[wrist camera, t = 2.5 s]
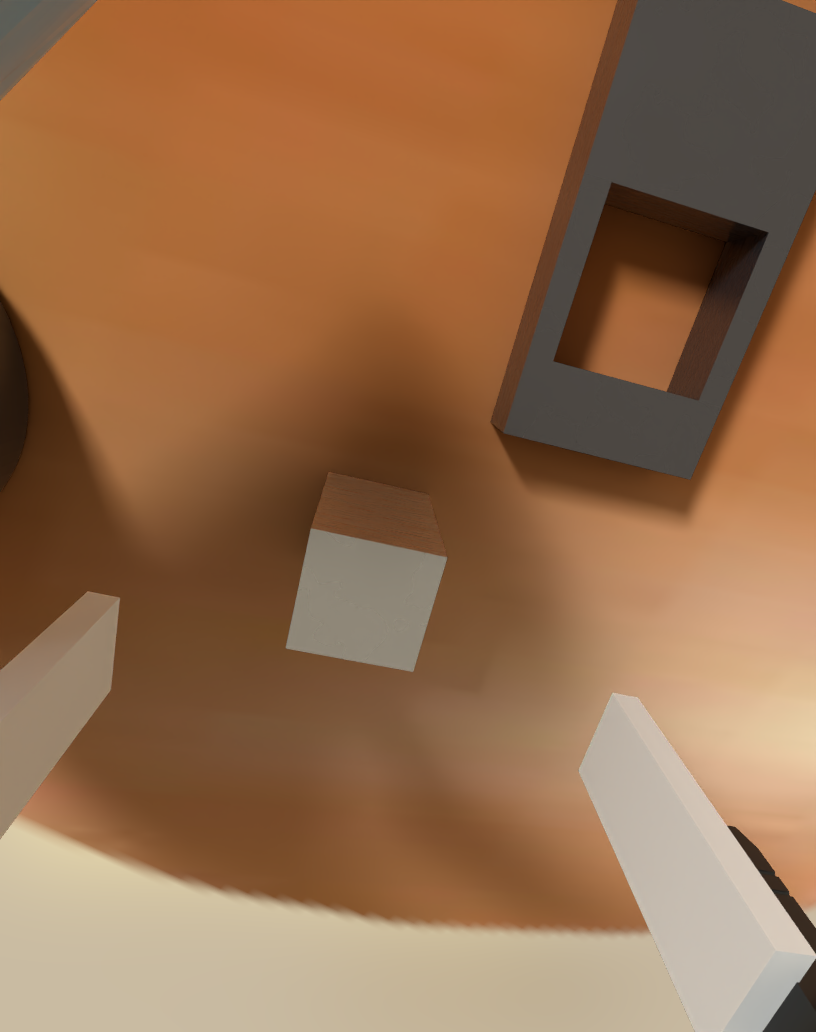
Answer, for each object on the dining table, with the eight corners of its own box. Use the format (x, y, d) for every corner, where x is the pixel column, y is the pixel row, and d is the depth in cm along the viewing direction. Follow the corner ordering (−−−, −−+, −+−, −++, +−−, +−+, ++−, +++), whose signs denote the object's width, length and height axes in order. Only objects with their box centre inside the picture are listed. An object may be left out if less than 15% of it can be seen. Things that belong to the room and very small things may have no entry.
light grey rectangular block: (309, 563, 25) (285, 648, 19) (328, 471, 24) (310, 528, 17) (403, 582, 26) (413, 671, 19) (428, 494, 25) (447, 557, 18)
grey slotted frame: (490, 421, 24) (503, 433, 21) (731, -376, 16) (795, -502, 14) (660, 464, 25) (691, 480, 22) (960, -267, 17) (1058, -365, 15)
